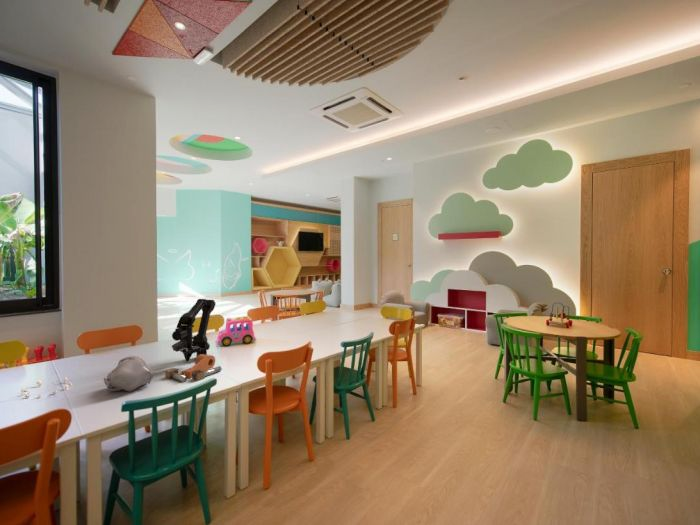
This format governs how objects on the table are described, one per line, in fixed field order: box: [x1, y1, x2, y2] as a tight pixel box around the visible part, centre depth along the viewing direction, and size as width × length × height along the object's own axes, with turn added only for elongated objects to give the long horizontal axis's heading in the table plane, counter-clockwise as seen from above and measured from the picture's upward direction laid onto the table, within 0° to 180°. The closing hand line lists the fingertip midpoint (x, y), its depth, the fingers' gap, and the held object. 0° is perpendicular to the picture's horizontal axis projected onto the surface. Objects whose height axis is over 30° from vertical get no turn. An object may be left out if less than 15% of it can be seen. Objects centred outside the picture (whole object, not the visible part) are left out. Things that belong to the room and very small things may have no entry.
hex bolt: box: [164, 367, 188, 383], centre depth 179 cm, size 14×5×4 cm, turn 58°
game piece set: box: [18, 377, 73, 399], centre depth 163 cm, size 19×20×4 cm
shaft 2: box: [191, 365, 222, 382], centre depth 185 cm, size 16×5×4 cm, turn 148°
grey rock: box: [103, 355, 153, 392], centre depth 166 cm, size 20×18×15 cm
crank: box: [180, 354, 216, 379], centre depth 191 cm, size 20×8×8 cm, turn 163°
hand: (187, 361), depth 197 cm, fingers closed
